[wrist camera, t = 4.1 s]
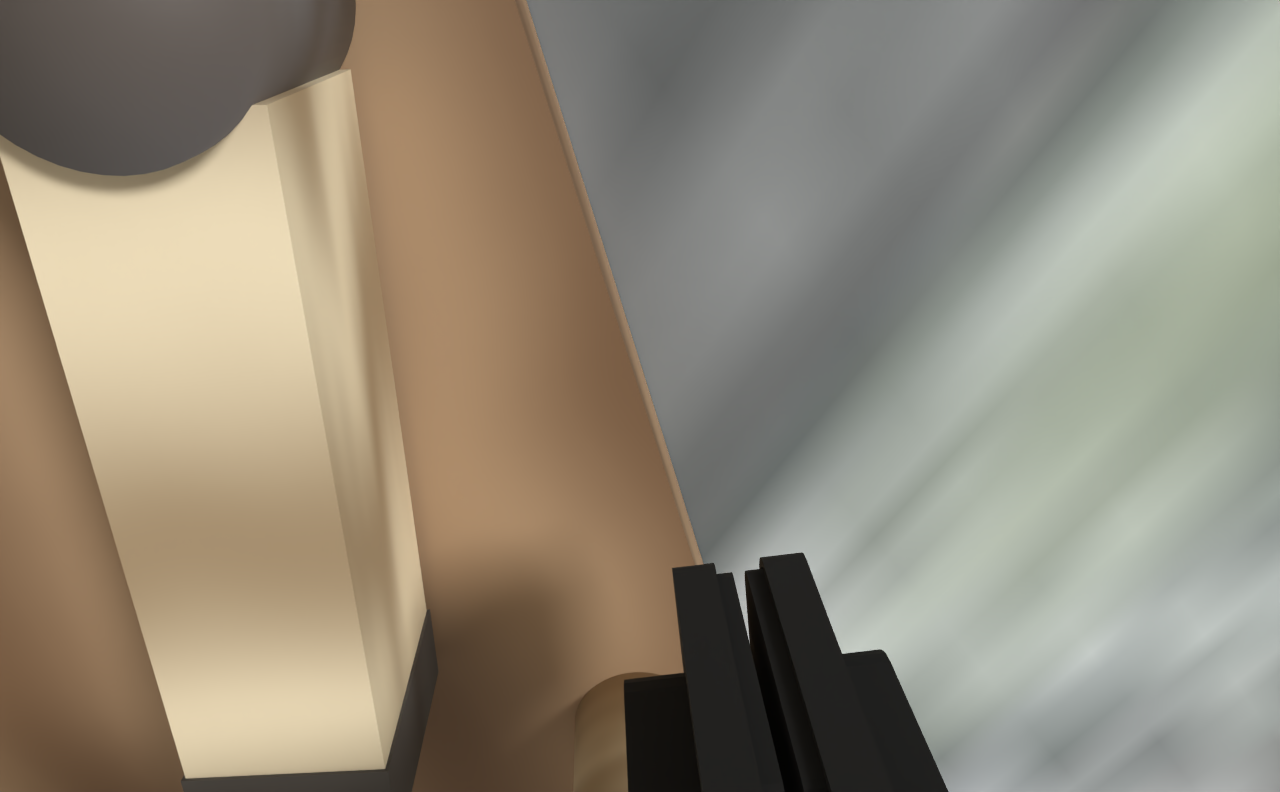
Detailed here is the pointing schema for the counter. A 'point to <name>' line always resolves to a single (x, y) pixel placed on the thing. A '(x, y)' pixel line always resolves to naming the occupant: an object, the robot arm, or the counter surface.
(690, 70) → the counter surface
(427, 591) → the stool board
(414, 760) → the hinged leg
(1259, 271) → the counter surface
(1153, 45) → the counter surface
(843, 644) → the counter surface
